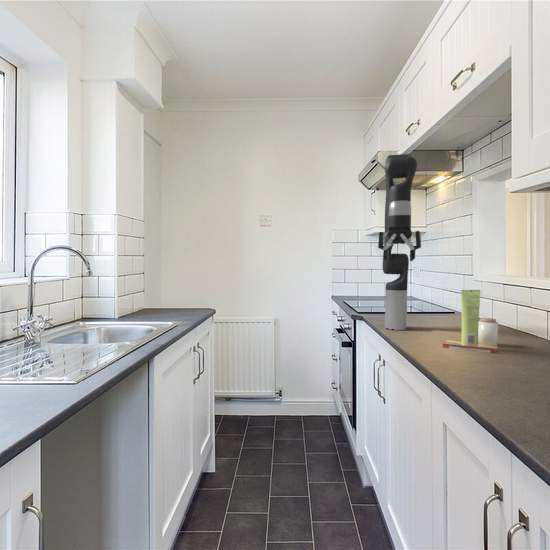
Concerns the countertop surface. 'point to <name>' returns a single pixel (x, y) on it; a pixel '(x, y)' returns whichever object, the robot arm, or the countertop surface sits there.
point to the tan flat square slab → (469, 347)
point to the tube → (470, 317)
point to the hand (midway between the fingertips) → (398, 261)
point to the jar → (488, 332)
